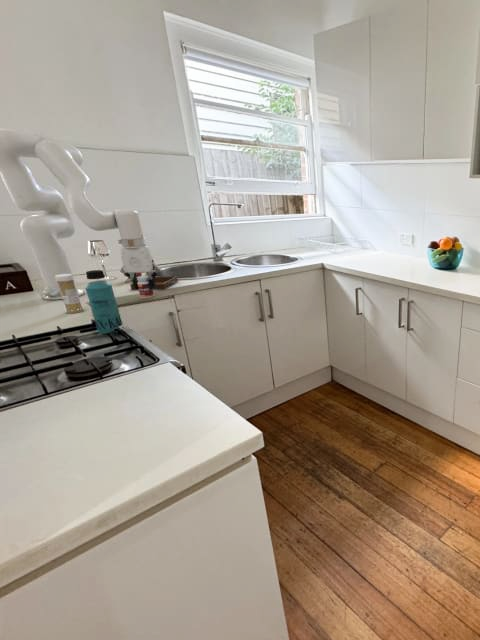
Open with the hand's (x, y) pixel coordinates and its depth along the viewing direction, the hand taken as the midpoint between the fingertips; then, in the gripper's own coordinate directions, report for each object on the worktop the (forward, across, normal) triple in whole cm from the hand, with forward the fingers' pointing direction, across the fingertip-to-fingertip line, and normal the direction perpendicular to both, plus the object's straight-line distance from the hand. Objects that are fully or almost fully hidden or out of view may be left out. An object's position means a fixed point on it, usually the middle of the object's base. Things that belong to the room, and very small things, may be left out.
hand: (145, 288), depth 156 cm
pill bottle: (+4, 0, 0) cm, 4 cm away
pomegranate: (+4, -19, +31) cm, 37 cm away
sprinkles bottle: (+4, -16, -18) cm, 25 cm away
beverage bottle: (+4, +9, -45) cm, 46 cm away
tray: (+4, -5, +20) cm, 21 cm away
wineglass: (+4, -33, +36) cm, 49 cm away
